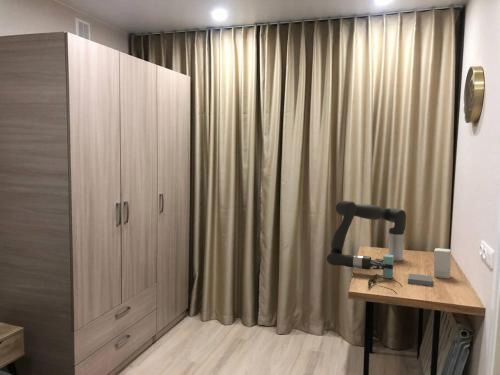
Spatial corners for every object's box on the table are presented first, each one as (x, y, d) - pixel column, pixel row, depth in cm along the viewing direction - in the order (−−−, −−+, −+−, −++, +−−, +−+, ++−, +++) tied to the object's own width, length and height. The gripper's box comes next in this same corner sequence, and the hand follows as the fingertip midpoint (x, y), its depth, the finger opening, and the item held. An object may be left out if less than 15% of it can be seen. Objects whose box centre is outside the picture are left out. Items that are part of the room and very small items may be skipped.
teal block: (383, 274, 232) (384, 254, 231) (392, 275, 230) (393, 255, 229) (382, 277, 228) (383, 256, 226) (392, 278, 226) (392, 257, 224)
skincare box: (450, 276, 231) (451, 249, 229) (449, 279, 225) (450, 251, 224) (434, 273, 235) (435, 247, 234) (433, 277, 229) (434, 250, 228)
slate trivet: (408, 277, 228) (409, 273, 228) (432, 280, 223) (432, 276, 223) (407, 283, 219) (408, 278, 219) (432, 286, 214) (432, 281, 214)
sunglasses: (375, 282, 222) (376, 273, 222) (403, 289, 214) (404, 280, 214) (367, 289, 211) (368, 280, 210) (396, 297, 202) (397, 288, 202)
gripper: (360, 259, 227) (392, 262, 220) (364, 252, 240) (394, 255, 233) (359, 272, 228) (391, 275, 221) (363, 265, 241) (394, 268, 234)
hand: (393, 265), depth 227 cm, fingers closed on teal block, 5 cm apart
